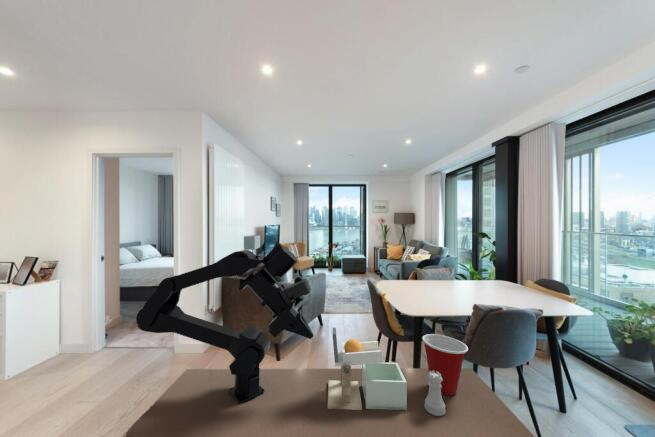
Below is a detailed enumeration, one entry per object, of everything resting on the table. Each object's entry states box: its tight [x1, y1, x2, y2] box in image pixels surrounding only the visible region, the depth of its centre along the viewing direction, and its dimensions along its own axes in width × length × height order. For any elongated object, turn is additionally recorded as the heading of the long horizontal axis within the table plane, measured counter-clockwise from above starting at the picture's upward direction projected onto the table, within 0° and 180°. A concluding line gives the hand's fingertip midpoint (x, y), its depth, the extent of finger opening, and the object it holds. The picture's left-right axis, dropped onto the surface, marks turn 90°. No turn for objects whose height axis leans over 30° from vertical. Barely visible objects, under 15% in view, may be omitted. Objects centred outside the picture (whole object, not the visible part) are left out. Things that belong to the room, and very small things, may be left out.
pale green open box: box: [361, 361, 408, 411], centre depth 64 cm, size 9×9×6 cm
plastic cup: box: [422, 333, 469, 396], centre depth 68 cm, size 11×11×12 cm
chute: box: [331, 327, 384, 367], centre depth 65 cm, size 11×6×7 cm, turn 89°
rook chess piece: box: [424, 370, 446, 417], centre depth 60 cm, size 4×4×8 cm
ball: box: [345, 338, 361, 353], centre depth 65 cm, size 4×4×4 cm
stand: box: [327, 350, 363, 411], centre depth 65 cm, size 8×10×9 cm
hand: (312, 337), depth 65 cm, fingers closed
